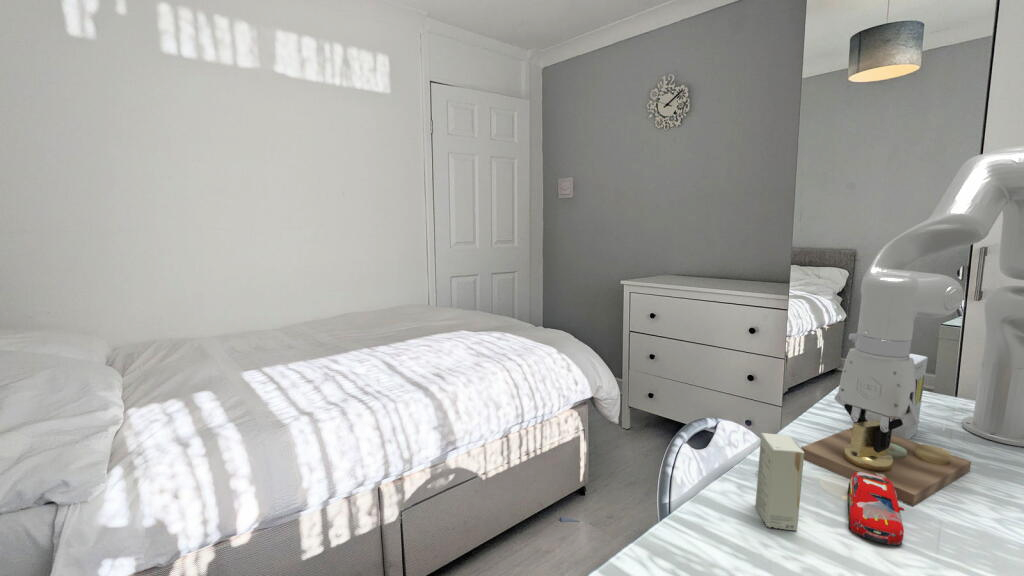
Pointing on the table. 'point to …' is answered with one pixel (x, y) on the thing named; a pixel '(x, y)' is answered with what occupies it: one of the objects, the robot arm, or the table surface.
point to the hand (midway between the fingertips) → (869, 445)
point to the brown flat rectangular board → (895, 465)
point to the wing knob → (867, 448)
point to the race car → (874, 509)
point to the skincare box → (779, 481)
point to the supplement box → (920, 371)
